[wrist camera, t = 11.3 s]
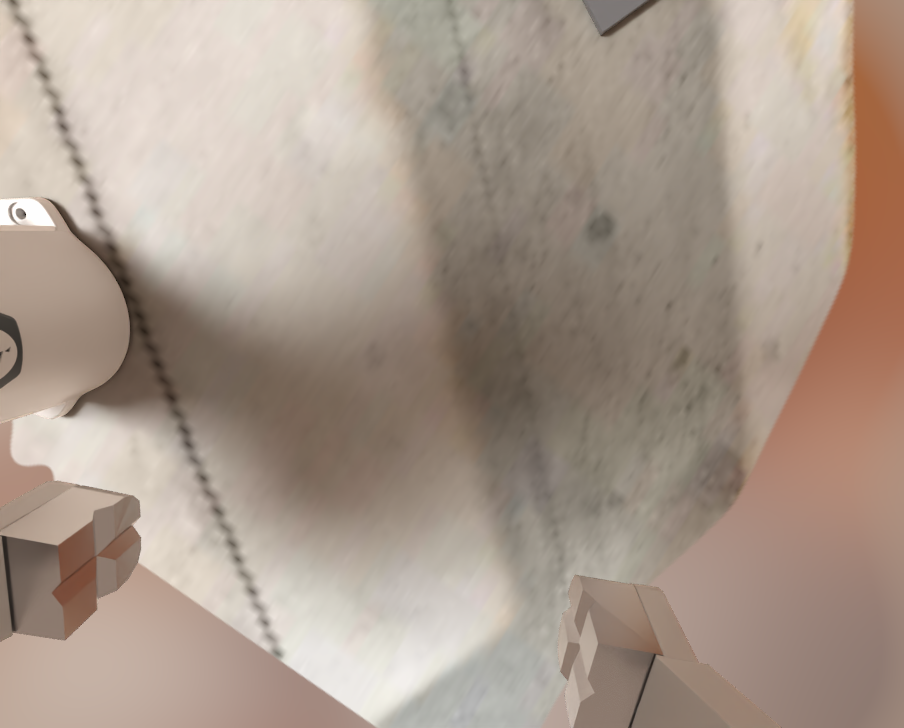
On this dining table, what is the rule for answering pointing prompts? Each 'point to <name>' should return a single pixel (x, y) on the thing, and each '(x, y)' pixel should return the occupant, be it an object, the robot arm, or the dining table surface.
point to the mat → (611, 11)
